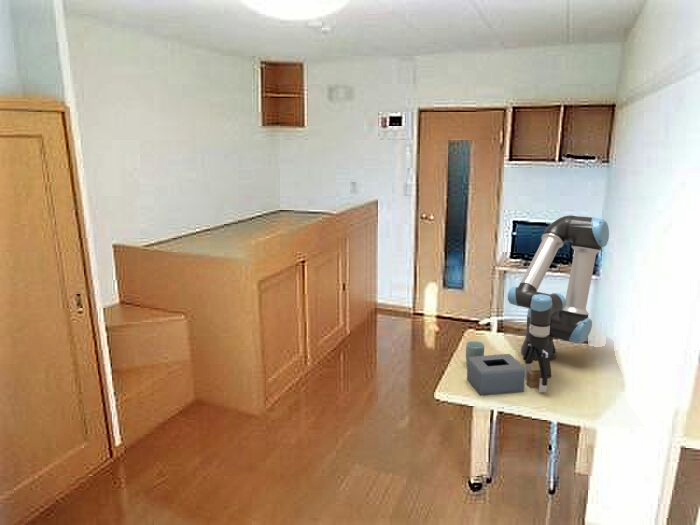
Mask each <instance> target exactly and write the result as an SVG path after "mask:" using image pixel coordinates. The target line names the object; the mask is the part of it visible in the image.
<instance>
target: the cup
mask: <svg viewBox="0 0 700 525" xmlns="http://www.w3.org/2000/svg"><path fill="white" fill-rule="evenodd" d="M476 356H485V344H484V343H483V342H481V341H477V340H471V341H470V340H469V341H467V342H466V344H465V360H466V364H467V365H468V357H476Z"/></svg>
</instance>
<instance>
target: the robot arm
mask: <svg viewBox="0 0 700 525" xmlns="http://www.w3.org/2000/svg"><path fill="white" fill-rule="evenodd" d="M609 238H610V229H609V225H608V223H607V221H606V220H605V219H603V218H599V217H593V216H592V217H591V216H590V217H589V216H578V215H565V216H562V217H559V218H558V219H555V220H554V221H552V223H551V224H549V225H548V226H547V227H546V229H545V230H544V231H543V233H542V235H541V238H540V239H541V242H540V244H539V247H537V248H538V249H537V251H536V252H535V254H534V256H533V257H532V260H531V261H530V264H529V266H528V267H527V269H526V271H525V274H524V276H523V277H522V279H521V280H520V283H519V285H517V286H512V287H511V288H509V290H508V293H507V302H508V303H509V304H511V305H514V306H516V307H521V308H526V309H528V310H527V314H526V328H525V329H526V330H525V338H524V340H523V343H522V345H521V348H520V355H522V356H523V357H522V359H523V361H524V363H525V379H524V380H527V371H534V370H533V369H534V368H533V367H534V364H533V363H534V361H537V363H538V367H539V370H540V372H541V377H540V383H539V387H538V393H546V392H547V388H548V379H552V369H551V361H552V360H555V358H556V357H557V356H556V355H557V351H556V350H557V349H556V346H555V343H554V339H558V340H561V341H565V342H569V343H574V344H579V345H580V344H582V343H584V342H585V341H587V339H588V338H589V335H590V334H591V331H592V327H593V321H592V319H591V318H590V317H589V314H590V313H589V312H588V311H587V304H588V299H589V295H590V294H589V293H590V288H591V284H592V277H593V273H594V268H595V262H596V261H595V260H596V257H597V254H598V253H601V251H602V248H604V247H606V246H607V245H608V243H609ZM565 243H571V248H572V250H574V251H573V258H572V263H571V268H570V273H569V278H568V284H567V290H566V296H564V295H563V294H561V293H559V292H554V293H553V292H552V293H545V292H539V291H538V289H539V288H540V286H541V285H542V281H543V280H544V278H545V276H546V274H547V272H548V270H549V268H550V266H551V264H552V263H553V260H554V258H555V257H556V255H557V252H558V251H559V249H560V248H562V247H563V246H564V245H565Z"/></svg>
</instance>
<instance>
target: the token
mask: <svg viewBox="0 0 700 525" xmlns="http://www.w3.org/2000/svg"><path fill="white" fill-rule="evenodd" d="M540 377H541V372H540V369H538V370H537V369H534V370H533V371H527V379H526V386H527V387H528V388H529V389H535V388H539V383H540Z"/></svg>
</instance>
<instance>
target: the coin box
mask: <svg viewBox="0 0 700 525" xmlns="http://www.w3.org/2000/svg"><path fill="white" fill-rule="evenodd" d="M466 368H467V370H466V371H467V372H466V380H467V382H469V384H470V385H471V386H472V387H473V389H474V391H476V393H477V394H478V396H481V397H482V396H491V395H493V396H494V395H501V394H502V395H504V394H513V393H514V394H515V393H524V390H525V380H526V379H525V370H526V367H524V366H523V365H522V364H521V363H520V362H519V361H518V360H517V359H516V358H514V356H512V355H511V354H510V353H502V354H491V355H489V354H488V355H484V356H476V357H468V364H467V367H466Z"/></svg>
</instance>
